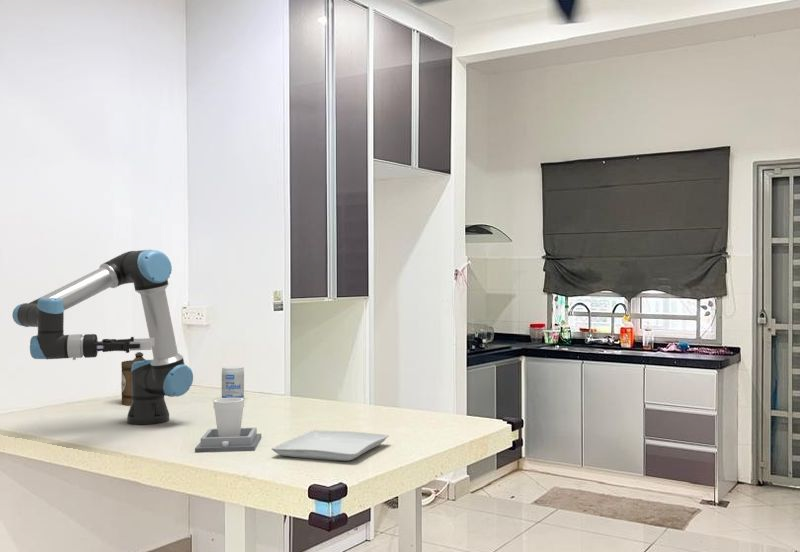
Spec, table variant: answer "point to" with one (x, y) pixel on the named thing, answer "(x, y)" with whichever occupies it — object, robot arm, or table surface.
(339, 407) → the table surface
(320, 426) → the table surface
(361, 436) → the square plate
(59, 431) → the table surface
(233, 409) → the foam cup
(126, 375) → the wooden container
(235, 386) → the supplement tub
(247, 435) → the tray
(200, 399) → the table surface
